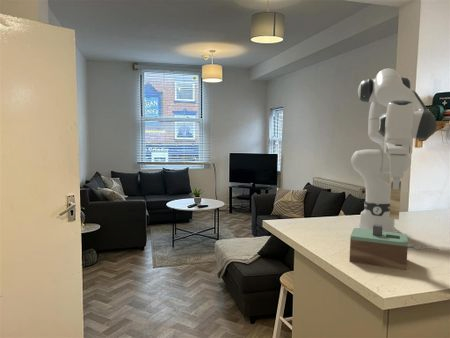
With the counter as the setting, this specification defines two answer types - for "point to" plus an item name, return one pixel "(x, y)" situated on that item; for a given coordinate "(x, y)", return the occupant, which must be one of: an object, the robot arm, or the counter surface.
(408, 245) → the pliers
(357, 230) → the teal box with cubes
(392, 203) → the wooden block
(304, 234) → the counter surface
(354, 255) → the toolbox
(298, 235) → the counter surface
